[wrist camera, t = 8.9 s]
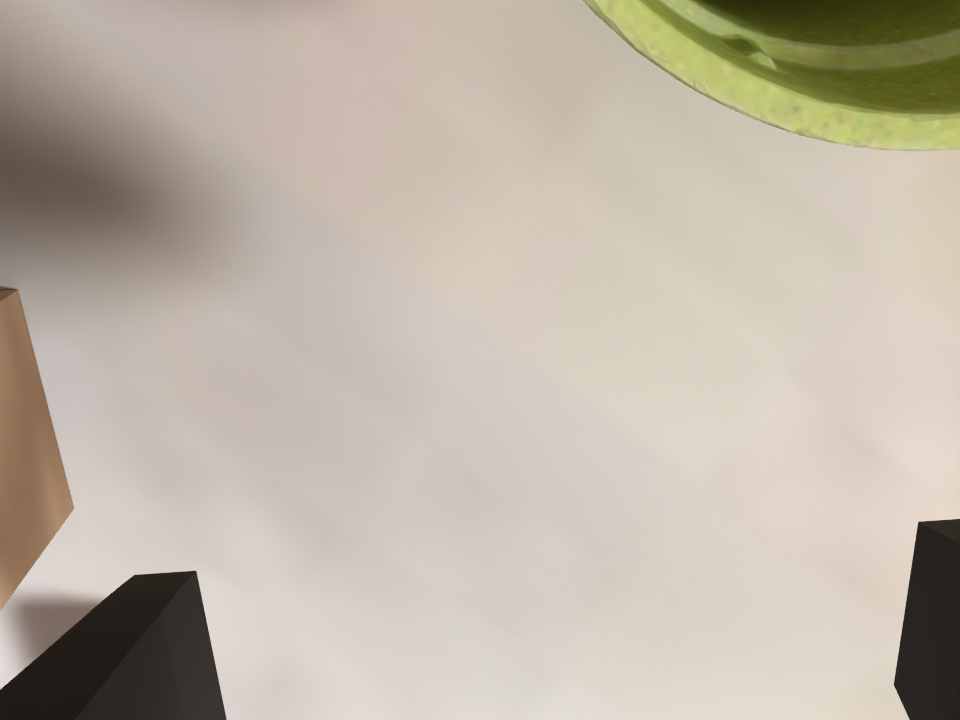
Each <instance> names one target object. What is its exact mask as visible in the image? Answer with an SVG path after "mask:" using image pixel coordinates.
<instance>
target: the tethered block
mask: <svg viewBox="0 0 960 720" xmlns="http://www.w3.org/2000/svg"><path fill="white" fill-rule="evenodd" d="M73 509H74V506H73V502H72V499H71V495H70V491H69V487H68V483H67V479H66V475H65V471H64V467H63V464H62V460H61V456H60V452H59V448H58V444H57V440H56V436H55V432H54V429H53V425H52V421H51V417H50V413H49V409H48V405H47V401H46V397H45V394H44V390H43V386H42V382H41V378H40V374H39V370H38V366H37V362H36V358H35V355H34V351H33V347H32V343H31V339H30V335H29V331H28V327H27V323H26V320H25V316H24V312H23V308H22V304H21V300H20V296H19V292H18V290H5V291H0V610H1V609H2V608H3V606H4V605H5V603H6V602H7V601H8V599H9V598H10V596H11V595H12V594H13V592H14V591H15V590H16V588H17V587H18V585H19V584H20V583H21V581H22V580H23V578H24V577H25V576H26V574H27V573H28V572H29V570H30V569H31V567H32V566H33V565H34V563H35V562H36V560H37V559H38V558H39V556H40V555H41V554H42V552H43V551H44V549H45V548H46V547H47V545H48V544H49V542H50V541H51V540H52V538H53V537H54V536H55V534H56V533H57V531H58V530H59V529H60V527H61V526H62V525H63V523H64V522H65V520H66V519H67V518H68V516H69V515H70V513H71V512H72V511H73Z"/></svg>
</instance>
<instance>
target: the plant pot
mask: <svg viewBox="0 0 960 720" xmlns="http://www.w3.org/2000/svg"><path fill="white" fill-rule="evenodd" d="M583 1H584V2H585V3H586V4H587V5H588V6H589V7H590V9H591V10H592V11H593V12H594V13H595V14H596V15H597V16H598V17H599V18H600V19H602V20H603V21H604V22H605V23H606V24H607V25H608V26H609V27H610V28H611V29H613V30H614V31H615V32H616V33H617V34H618V35H619V36H620V37H621V38H622V39H624V40H625V41H626V42H627V43H628V44H629V45H630V46H631V47H632V48H633V49H634V50H636V51H637V52H638V53H640V54H641V55H642V56H644V57H645V58H647V59H648V60H650V61H651V62H652V63H654V64H655V65H657V66H658V67H660V68H661V69H663V70H664V71H665V72H667V73H668V74H670V75H671V76H673V77H674V78H676V79H677V80H679V81H680V82H682V83H683V84H685V85H687V86H688V87H690V88H692V89H693V90H695V91H697V92H698V93H700V94H702V95H704V96H706V97H708V98H710V99H712V100H714V101H716V102H718V103H720V104H722V105H724V106H726V107H728V108H730V109H733V110H735V111H737V112H739V113H741V114H744V115H746V116H748V117H751V118H753V119H755V120H758V121H760V122H763V123H765V124H768V125H771V126H774V127H777V128H780V129H783V130H786V131H789V132H792V133H795V134H799V135H802V136H806V137H810V138H814V139H818V140H822V141H826V142H832V143H837V144H842V145H848V146H855V147H863V148H871V149H880V150H898V151H935V150H954V149H960V0H583Z"/></svg>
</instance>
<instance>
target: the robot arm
mask: <svg viewBox="0 0 960 720" xmlns="http://www.w3.org/2000/svg"><path fill="white" fill-rule="evenodd" d="M894 686H895V688H896V690H897V693H898V695H899V697H900V699H901V701H902V704H903V706H904V708H905V710H906V712H907V715H908V717H909V719H910V720H960V519H954V520H940V521H925V522H918V528H917V535H916V541H915V548H914V555H913V561H912V568H911V575H910V581H909V588H908V594H907V601H906V608H905V614H904V621H903V628H902V634H901V641H900V648H899V654H898V661H897V668H896V674H895V681H894ZM0 720H226V715H225V710H224V705H223V700H222V695H221V690H220V685H219V681H218V676H217V671H216V666H215V661H214V656H213V651H212V646H211V641H210V636H209V632H208V627H207V622H206V617H205V612H204V607H203V602H202V597H201V592H200V587H199V583H198V578H197V573H196V571H187V572H172V573H158V574H143V575H134V576H133V577H131V578H130V579H129V580H128V581H126V582H125V583H124V584H122V585H121V586H120V587H119V588H117V589H116V590H115V591H114V592H113V593H111V594H110V595H109V596H108V597H107V598H105V599H104V600H103V601H102V602H101V603H100V604H98V605H97V606H96V607H95V608H94V609H93V610H91V611H90V612H89V613H88V614H87V615H86V616H85V617H83V618H82V619H81V620H80V621H79V622H78V623H77V624H75V625H74V626H73V627H72V628H71V629H70V630H69V631H67V632H66V633H65V634H64V635H63V636H62V637H61V638H59V639H58V640H57V641H56V642H55V643H54V644H53V645H51V646H50V647H49V648H48V649H47V650H46V651H45V652H44V653H42V654H41V655H40V656H39V657H38V658H37V659H35V660H34V661H33V662H32V663H31V664H30V665H28V666H27V667H26V668H25V669H24V670H23V671H21V672H20V673H19V674H18V675H17V676H16V677H15V678H13V679H12V680H11V681H10V682H9V683H8V684H6V685H5V686H4V687H3V688H2V689H1V690H0Z"/></svg>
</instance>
